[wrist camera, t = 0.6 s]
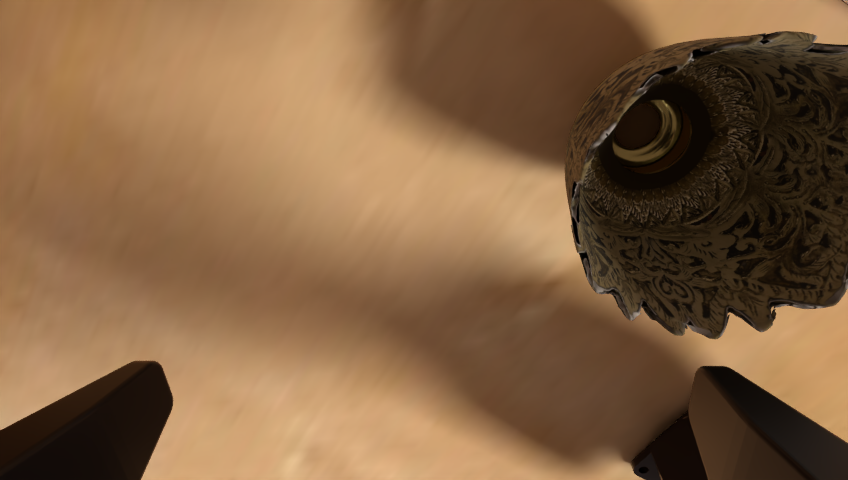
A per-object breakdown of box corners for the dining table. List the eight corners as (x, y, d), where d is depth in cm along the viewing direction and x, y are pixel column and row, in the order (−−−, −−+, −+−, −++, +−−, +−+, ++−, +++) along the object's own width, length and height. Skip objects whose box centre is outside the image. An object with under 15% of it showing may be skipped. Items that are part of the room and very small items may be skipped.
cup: (546, 15, 17) (602, 32, 10) (771, 15, 17) (1002, 33, 9) (526, 215, 20) (558, 335, 13) (713, 220, 20) (851, 348, 13)
